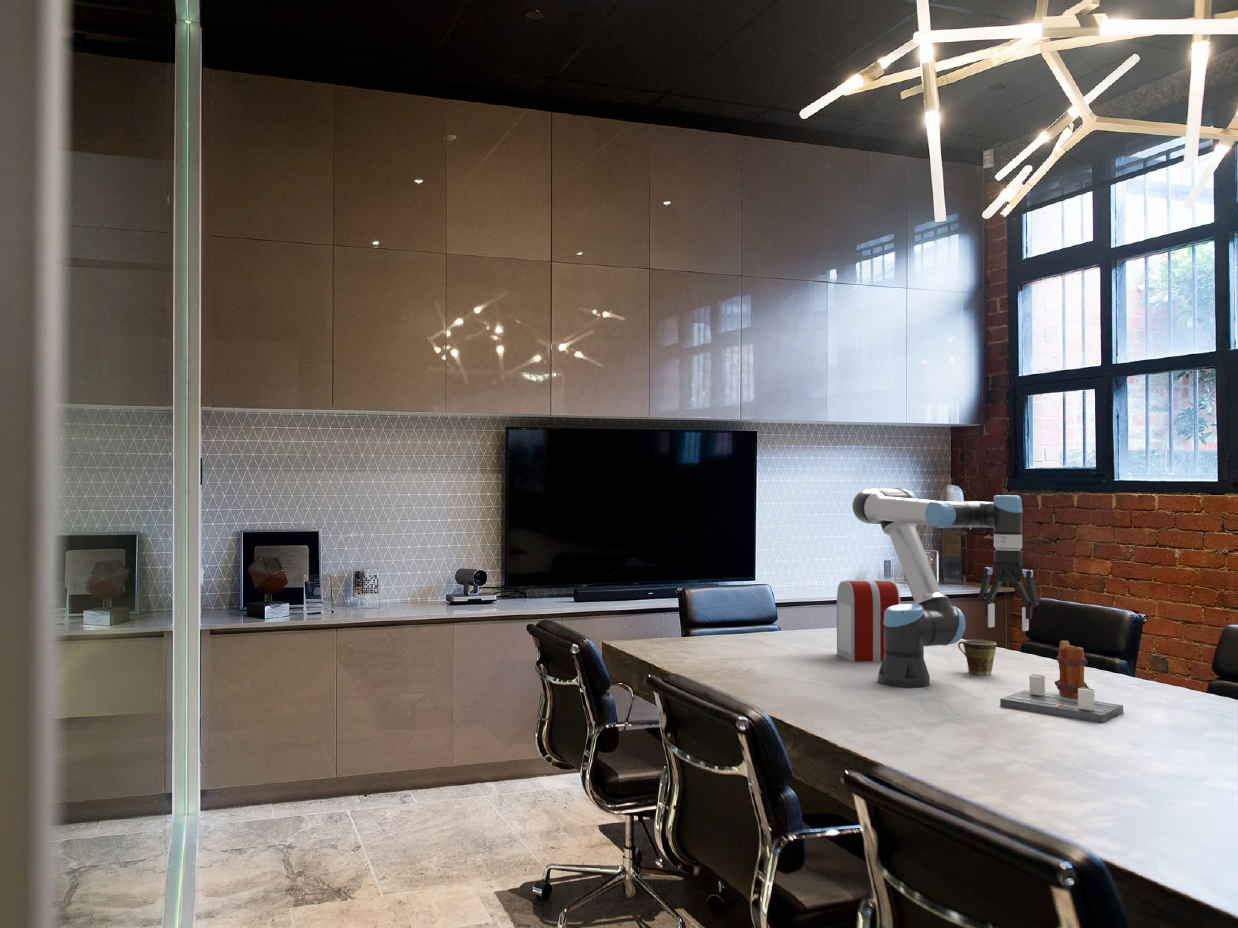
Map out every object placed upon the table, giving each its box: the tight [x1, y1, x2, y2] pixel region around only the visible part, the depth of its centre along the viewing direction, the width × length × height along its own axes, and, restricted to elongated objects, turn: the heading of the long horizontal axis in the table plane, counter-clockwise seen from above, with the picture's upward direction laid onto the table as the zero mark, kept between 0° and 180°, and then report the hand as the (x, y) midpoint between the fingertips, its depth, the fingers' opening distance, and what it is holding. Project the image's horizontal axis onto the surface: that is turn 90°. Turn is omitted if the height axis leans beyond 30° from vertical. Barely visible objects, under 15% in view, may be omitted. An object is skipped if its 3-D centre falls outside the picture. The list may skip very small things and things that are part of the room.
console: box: [999, 689, 1124, 724], centre depth 255 cm, size 26×16×2 cm, turn 45°
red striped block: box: [836, 579, 901, 663], centre depth 334 cm, size 16×18×27 cm
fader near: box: [1078, 687, 1095, 710], centre depth 246 cm, size 3×3×5 cm
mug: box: [1054, 640, 1090, 698], centre depth 272 cm, size 15×8×15 cm, turn 168°
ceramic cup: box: [957, 639, 997, 676], centre depth 306 cm, size 13×10×10 cm
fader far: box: [1028, 673, 1046, 695], centre depth 264 cm, size 3×3×5 cm
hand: (1008, 628), depth 270 cm, fingers open, 9 cm apart
